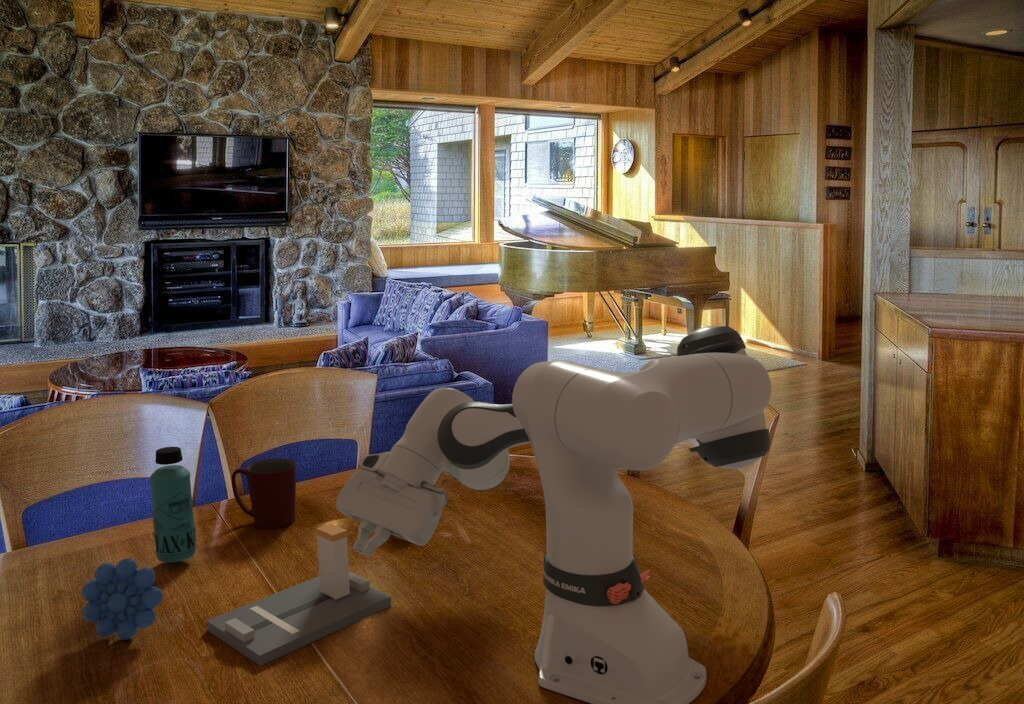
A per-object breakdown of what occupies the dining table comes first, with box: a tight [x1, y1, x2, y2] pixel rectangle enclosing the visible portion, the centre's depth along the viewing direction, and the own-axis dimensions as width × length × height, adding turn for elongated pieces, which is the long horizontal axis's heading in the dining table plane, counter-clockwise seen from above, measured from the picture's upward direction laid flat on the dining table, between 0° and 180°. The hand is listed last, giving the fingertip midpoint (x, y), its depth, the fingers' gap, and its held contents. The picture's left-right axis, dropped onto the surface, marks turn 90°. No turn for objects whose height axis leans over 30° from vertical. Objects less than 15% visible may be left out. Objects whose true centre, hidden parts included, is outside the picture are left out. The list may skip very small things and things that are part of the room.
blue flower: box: [81, 557, 164, 641], centre depth 119 cm, size 12×7×12 cm, turn 86°
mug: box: [231, 457, 297, 530], centre depth 160 cm, size 12×9×11 cm
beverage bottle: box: [149, 446, 197, 563], centre depth 142 cm, size 6×7×20 cm
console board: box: [206, 571, 392, 667], centre depth 124 cm, size 14×22×3 cm, turn 138°
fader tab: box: [315, 523, 350, 600], centre depth 127 cm, size 4×3×10 cm, turn 48°
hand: (360, 553), depth 131 cm, fingers closed
